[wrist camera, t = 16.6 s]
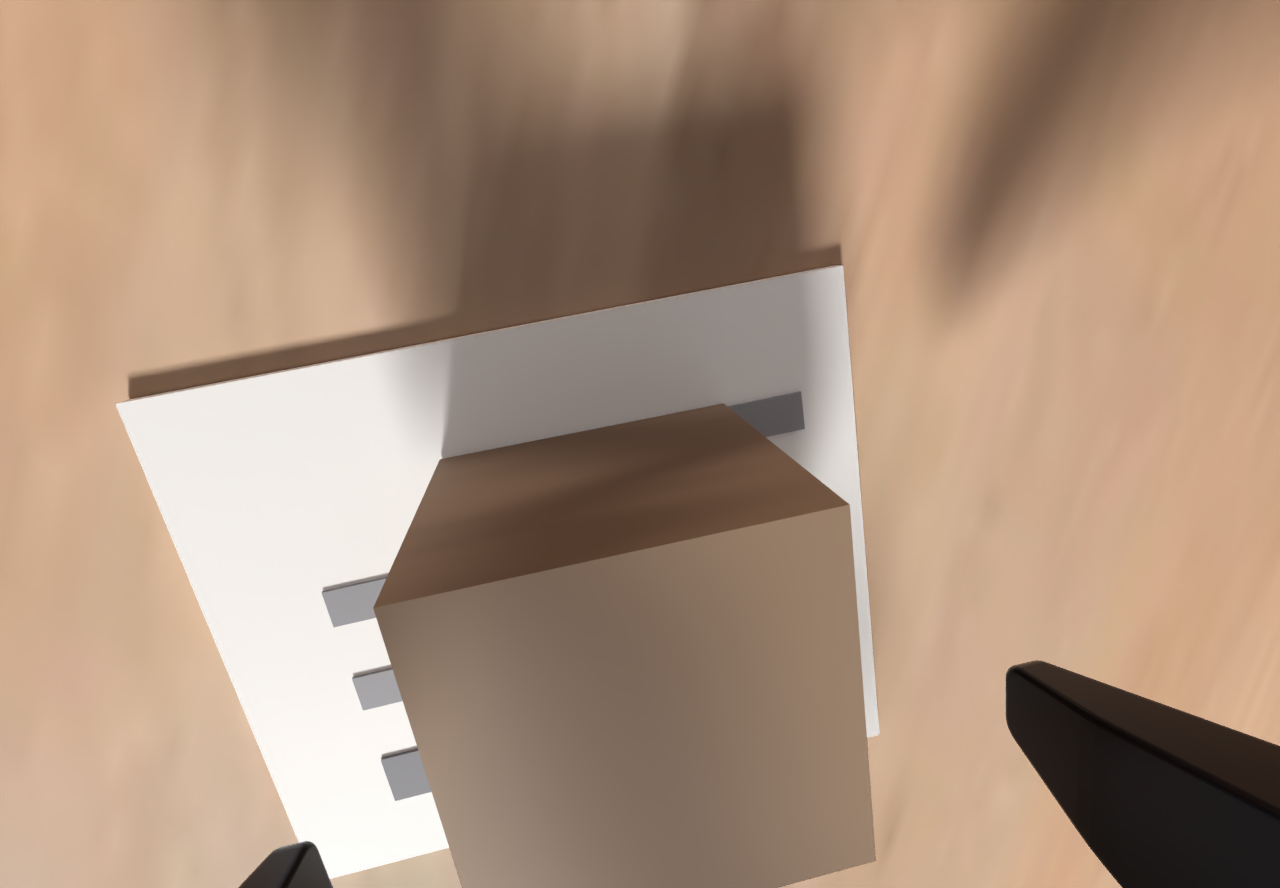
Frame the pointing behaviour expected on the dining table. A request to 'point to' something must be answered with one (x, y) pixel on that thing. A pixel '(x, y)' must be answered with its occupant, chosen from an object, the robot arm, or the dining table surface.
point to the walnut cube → (635, 660)
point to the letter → (396, 482)
